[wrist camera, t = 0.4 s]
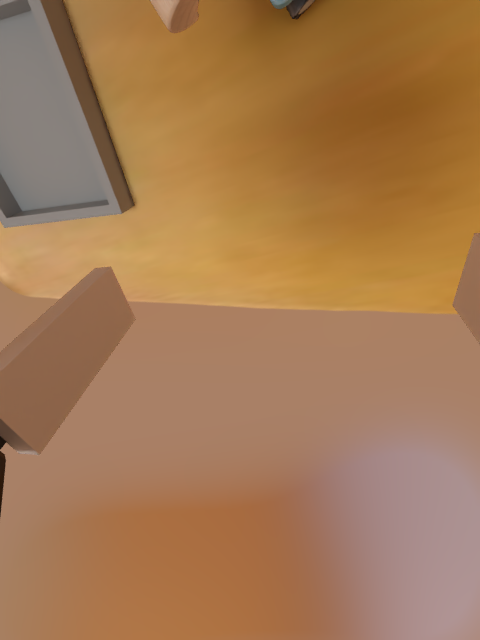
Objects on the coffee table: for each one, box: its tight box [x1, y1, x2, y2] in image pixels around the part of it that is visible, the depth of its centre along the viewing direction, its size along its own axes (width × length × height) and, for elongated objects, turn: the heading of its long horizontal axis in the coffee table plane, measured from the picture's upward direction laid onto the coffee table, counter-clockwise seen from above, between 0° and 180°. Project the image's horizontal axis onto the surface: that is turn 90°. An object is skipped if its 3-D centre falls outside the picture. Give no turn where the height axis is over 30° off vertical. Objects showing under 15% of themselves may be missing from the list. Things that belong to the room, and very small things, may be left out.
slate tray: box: [0, 0, 134, 228], centre depth 34 cm, size 20×18×4 cm
